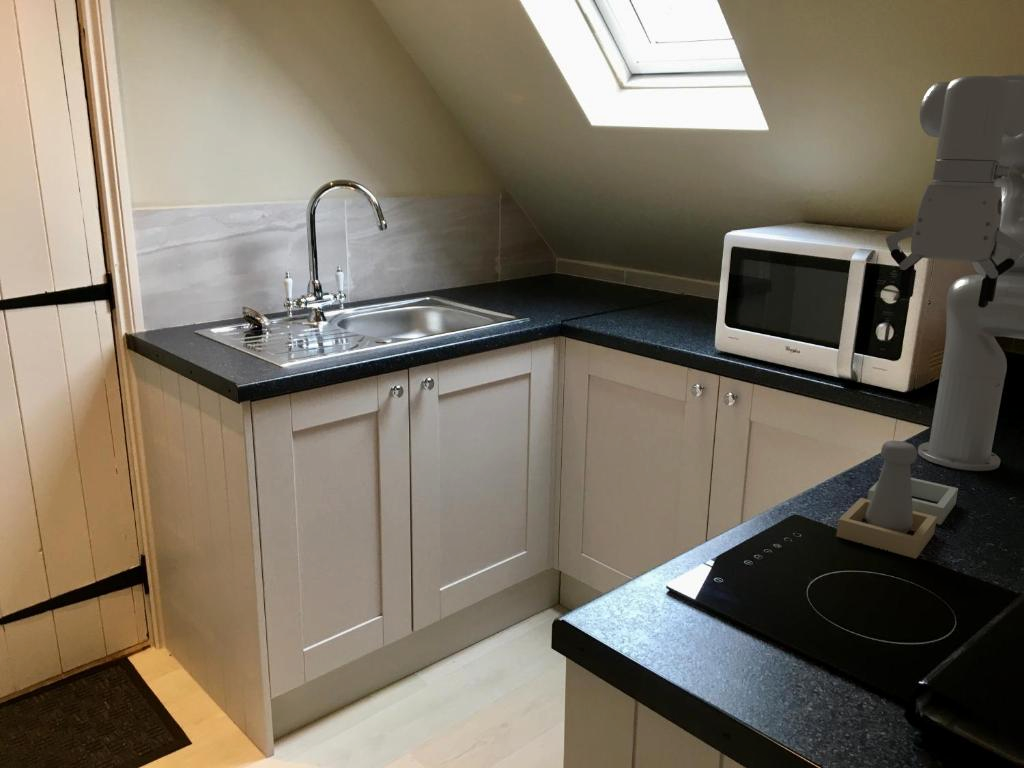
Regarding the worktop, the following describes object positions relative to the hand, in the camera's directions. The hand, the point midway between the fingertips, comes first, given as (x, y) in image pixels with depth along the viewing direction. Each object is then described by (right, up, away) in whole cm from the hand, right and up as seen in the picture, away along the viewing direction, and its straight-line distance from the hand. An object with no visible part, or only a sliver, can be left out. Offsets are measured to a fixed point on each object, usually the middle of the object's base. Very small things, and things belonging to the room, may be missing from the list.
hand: (944, 302), depth 118 cm
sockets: (-5, -30, +2) cm, 31 cm away
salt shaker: (-9, -32, -3) cm, 33 cm away
